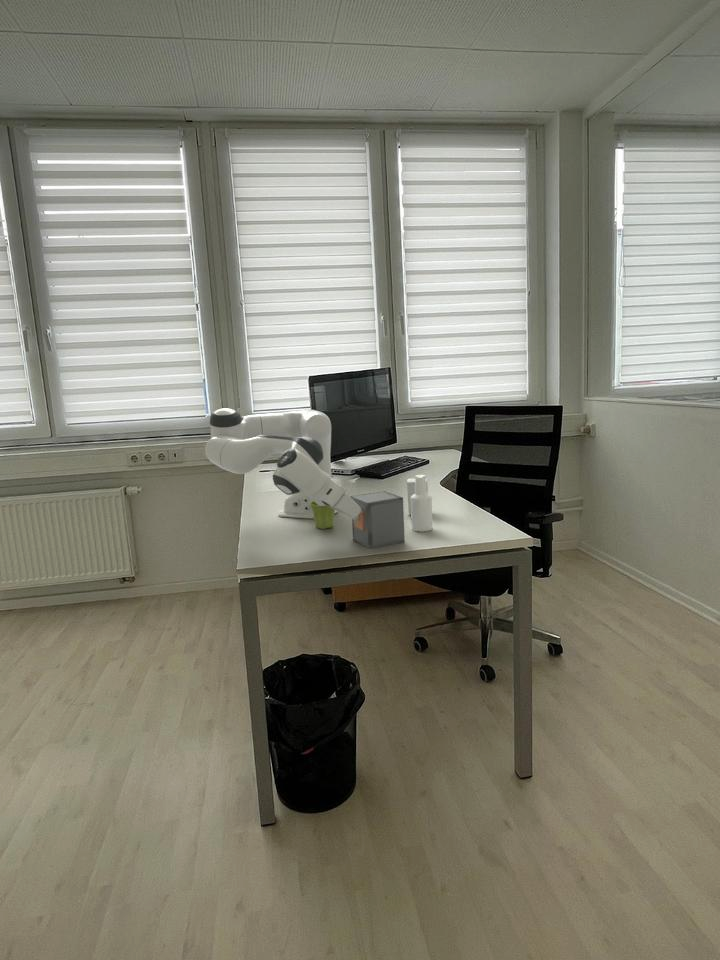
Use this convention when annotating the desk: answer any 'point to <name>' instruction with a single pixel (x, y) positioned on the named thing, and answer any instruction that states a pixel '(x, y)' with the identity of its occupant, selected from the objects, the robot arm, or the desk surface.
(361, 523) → the button
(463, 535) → the desk surface
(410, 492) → the supplement box
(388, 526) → the button box
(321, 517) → the plant pot
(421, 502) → the spray bottle
